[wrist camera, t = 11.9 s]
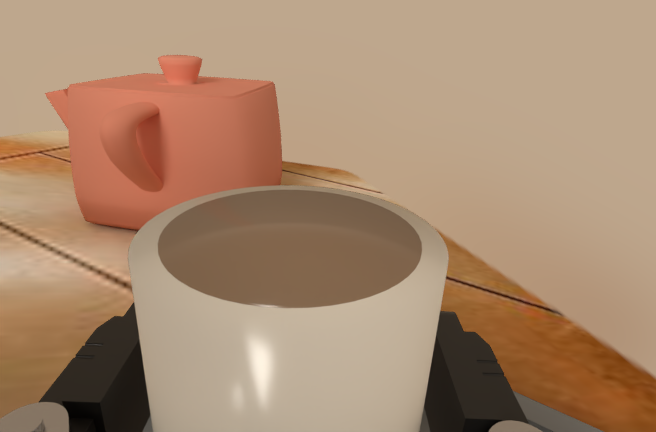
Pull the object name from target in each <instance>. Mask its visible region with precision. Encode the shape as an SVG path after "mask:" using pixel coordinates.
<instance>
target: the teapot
mask: <svg viewBox="0 0 656 432" xmlns="http://www.w3.org/2000/svg"><path fill="white" fill-rule="evenodd" d="M158 61H159V64H160V66H161V69H162V70H163V73H164V74H148V73H143V74H136V75H128V76H122V77H115V78H108V79H101V80H95V81H88V82H82V83H76V84H70V86H69V87H68V89H64V90H59V91H53V92H48V93H45V94H46V96H47V98H48V99H49V101H50V103H51V104H52V106H53V107H54V109H55V110H56V111H57V113H58V115H59V116H60V118H61V119H62V121H63V122H64V124H65V125H66V127H67V128H68V130H69V146H70V157H71V166H72V174H73V181H74V188H75V193H76V198H77V201H78V204H79V206H80V209H81V211H82V214H83V216H84V218H85V220H86V221H88V222H91V223H96V224H101V225H108V226H114V227H121V228H128V229H135V230H140V229H141V228H142V227H143V226H144V225H145V224H146V223H147V222H148V221H150V220H151V219H152V218H154V217H155V216H156V215H158V214H160V213H162V212H163V211H165V210H167V209H169V208H171V207H173V206H176V205H178V204H180V203H183V202H186V201H188V200H191V199H194V198H197V197H201V196H204V195H208V194H212V193H217V192H221V191H227V190H233V189H239V188H247V187H258V186H276V185H280V182H281V176H282V149H281V133H280V123H279V114H278V106H277V97H276V91H275V84H274V83H273V82H271V81H259V80H246V79H232V78H218V77H202V76H198V74H199V71H200V67H201V63H202V59H201V58H199V57H195V56H187V55H166V56H161V57H159V58H158Z"/></svg>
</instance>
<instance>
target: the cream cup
mask: <svg viewBox="0 0 656 432" xmlns="http://www.w3.org/2000/svg"><path fill="white" fill-rule="evenodd" d="M448 258H449V256H448V250H447V246H446V244H445V242H444V240H443V238H442V237H441V236H440V234H439V233H438V232H437V231H436V230H435V229H434V228H433V227H432V226H431V225H430V224H429V223H428V222H426V221H425V220H423V219H422V218H421V217H419V216H418V215H416V214H414V213H412V212H411V211H409V210H407V209H405V208H402V207H400V206H398V205H396V204H393V203H390V202H388V201H385V200H382V199H379V198H376V197H372V196H369V195H365V194H360V193H356V192H351V191H346V190H340V189H333V188H325V187H315V186H298V185H276V186H258V187H247V188H239V189H233V190H227V191H221V192H217V193H212V194H208V195H204V196H201V197H197V198H194V199H191V200H188V201H186V202H183V203H180V204H178V205H176V206H173V207H171V208H169V209H167V210H165V211H163V212H162V213H160V214H158V215H156V216H155V217H154V218H152V219H151V220H150V221H148V222H147V223H146V224H145V225H144V226H143V227H142V228H141V229H140V230H139V231H138V232H137V233H136V235H135V236H134V238H133V239H132V241H131V244H130V247H129V251H128V263H129V270H130V277H131V284H132V291H133V297H134V304H135V311H136V318H137V325H138V332H139V339H140V345H141V352H142V359H143V366H144V373H145V380H146V387H147V393H148V400H149V407H150V414H151V421H152V428H153V432H420V426H421V420H422V414H423V408H424V403H425V397H426V391H427V385H428V379H429V373H430V367H431V362H432V356H433V350H434V344H435V338H436V332H437V326H438V320H439V315H440V309H441V303H442V297H443V291H444V285H445V279H446V274H447V268H448Z"/></svg>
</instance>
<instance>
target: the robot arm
mask: <svg viewBox="0 0 656 432" xmlns="http://www.w3.org/2000/svg"><path fill="white" fill-rule="evenodd" d="M424 408H425V412H426V416H427V420H428V424H429V428H430V432H542V431H541V430H539V429H538V428H536V427H534V426H532V425H530V424H529V422H528V420H527V418H526V416H525V414H524V412H523V410H522V408H521V406H520V405H519V403H518V401H517V399H516V397H515V395H514V393H513V391H512V389H511V387H510V385H509V383H508V381H507V379H506V377H504V373H503V371H502V369H501V367H500V365H499V364H498V363H497V359H496V357H495V355H494V353H493V351H492V349H491V347H490V345H489V344H488V343H486V342H485V341H484V340H483V339H482V338H481V337H480V336H479V335H478V334H477V333H476V332H464V331H463V329H462V326H461V324H460V322H459V320H458V317H457V315H456V313H455V312H445V311H440V315H439V320H438V326H437V332H436V338H435V344H434V350H433V356H432V362H431V367H430V373H429V379H428V385H427V391H426V397H425V403H424ZM150 415H151V414H150V407H149V400H148V393H147V387H146V380H145V373H144V366H143V359H142V352H141V345H140V339H139V332H138V325H137V318H136V311H135V304H134V303H133V304H132V305H131V307H130V308H129V310H128V311H127V312H126V314H125V315H124V316H123V317H121V316H114V317H113V318H111V319H110V320H108V321H107V322H105V323H104V324H102V325H101V326H99V327H98V328H97V329H96V330H95V331H94V332H93V334H92V335H91V336H90V338H89V339H88V340H87V341H86V343H85V346H82V348H81V349H80V350H79V351H78V353H77V354H76V357H75V358H73V359H72V360H71V362H70V363H69V364H68V365H67V367H66V368H65V369H64V371H63V372H62V373H61V374H60V376H59V377H58V378H57V379H56V381H55V382H54V383H53V384H52V386H51V387H50V388H49V390H48V391H47V392H46V393H45V395H44V396H43V397H42V398H41V400H40V401H39V402H38V403H34V404H29V405H26V406H23V407H21V408H18V409H16V410H14V411H12V412H10V413H9V414H7V415H5V416H4V417H2V418H1V419H0V432H143V430H144V427H145V425H146V423H147V421H148V419H149V417H150Z"/></svg>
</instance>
